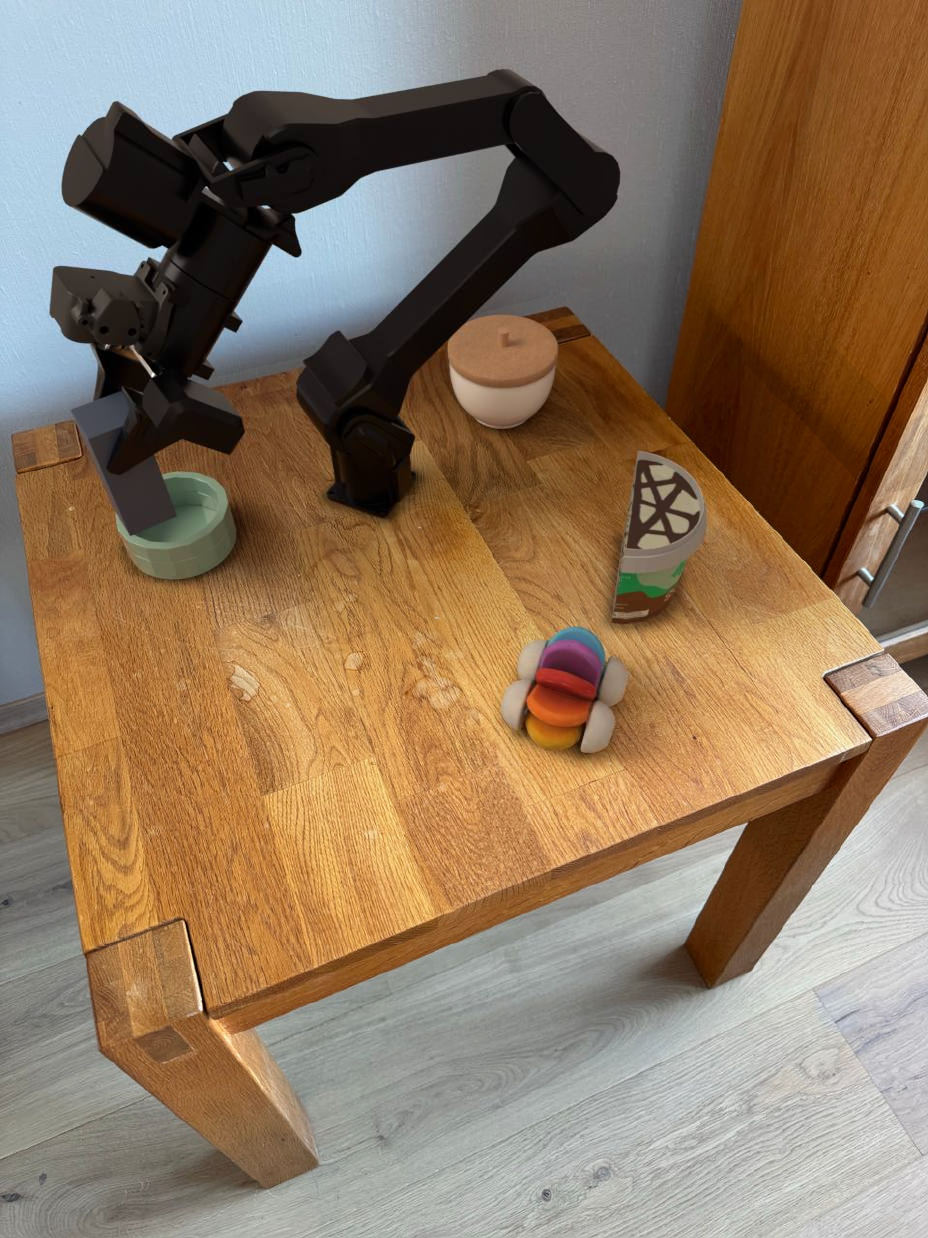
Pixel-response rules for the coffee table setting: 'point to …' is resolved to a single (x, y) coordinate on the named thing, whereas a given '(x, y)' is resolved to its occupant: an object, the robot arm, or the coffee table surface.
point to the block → (137, 489)
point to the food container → (657, 537)
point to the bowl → (185, 530)
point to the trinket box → (502, 368)
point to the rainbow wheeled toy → (565, 691)
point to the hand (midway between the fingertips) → (102, 456)
